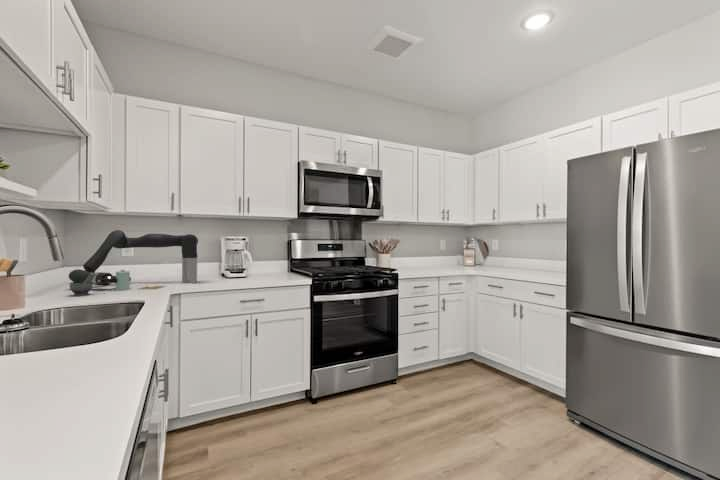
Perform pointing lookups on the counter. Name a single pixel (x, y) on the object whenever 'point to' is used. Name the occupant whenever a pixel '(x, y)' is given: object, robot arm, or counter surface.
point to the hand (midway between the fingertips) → (123, 280)
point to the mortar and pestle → (82, 286)
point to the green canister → (123, 280)
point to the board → (153, 288)
